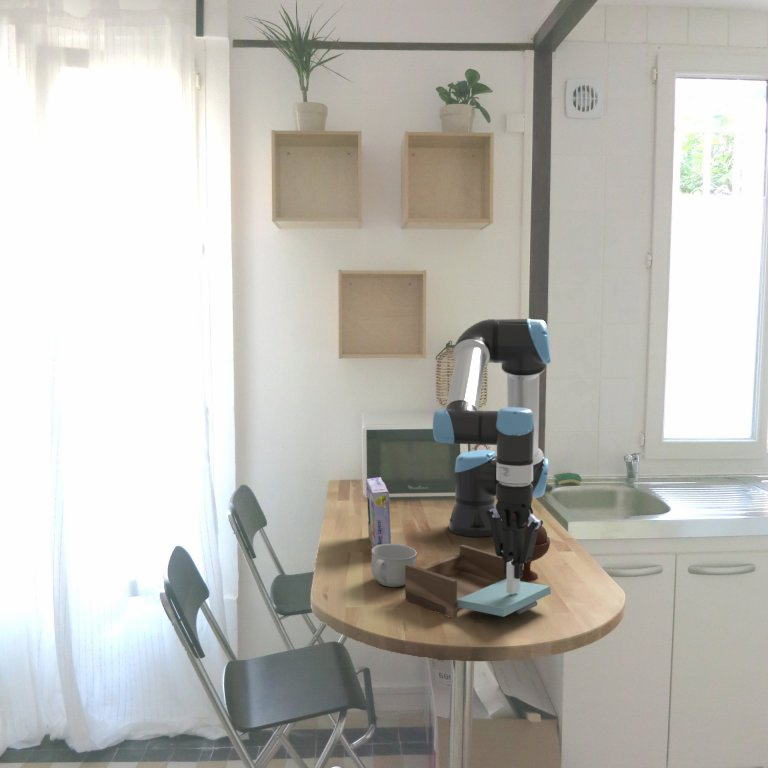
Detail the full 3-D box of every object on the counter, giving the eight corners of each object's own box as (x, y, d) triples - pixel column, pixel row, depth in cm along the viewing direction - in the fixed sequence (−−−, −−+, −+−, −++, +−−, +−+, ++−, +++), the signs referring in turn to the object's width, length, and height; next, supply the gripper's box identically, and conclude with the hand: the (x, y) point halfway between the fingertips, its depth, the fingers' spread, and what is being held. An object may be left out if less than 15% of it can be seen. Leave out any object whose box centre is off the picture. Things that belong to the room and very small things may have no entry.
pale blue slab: (505, 578, 163) (550, 586, 155) (506, 591, 163) (551, 599, 155) (457, 599, 152) (503, 608, 143) (458, 612, 152) (504, 622, 143)
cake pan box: (366, 536, 207) (365, 476, 205) (383, 535, 208) (383, 475, 206) (373, 558, 188) (372, 492, 186) (392, 557, 189) (391, 491, 187)
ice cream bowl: (495, 577, 174) (495, 516, 173) (521, 565, 182) (522, 507, 181) (532, 588, 167) (533, 525, 165) (558, 576, 175) (559, 516, 173)
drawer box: (462, 576, 175) (462, 544, 174) (509, 592, 165) (510, 558, 164) (405, 599, 161) (405, 565, 160) (453, 618, 151) (453, 581, 150)
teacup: (390, 571, 179) (390, 539, 178) (425, 581, 172) (425, 548, 171) (353, 587, 168) (353, 554, 167) (389, 599, 161) (389, 564, 161)
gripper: (478, 480, 151) (477, 588, 154) (530, 491, 142) (528, 605, 144) (499, 474, 156) (498, 578, 159) (551, 484, 147) (549, 595, 150)
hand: (513, 591), depth 152 cm, fingers closed
